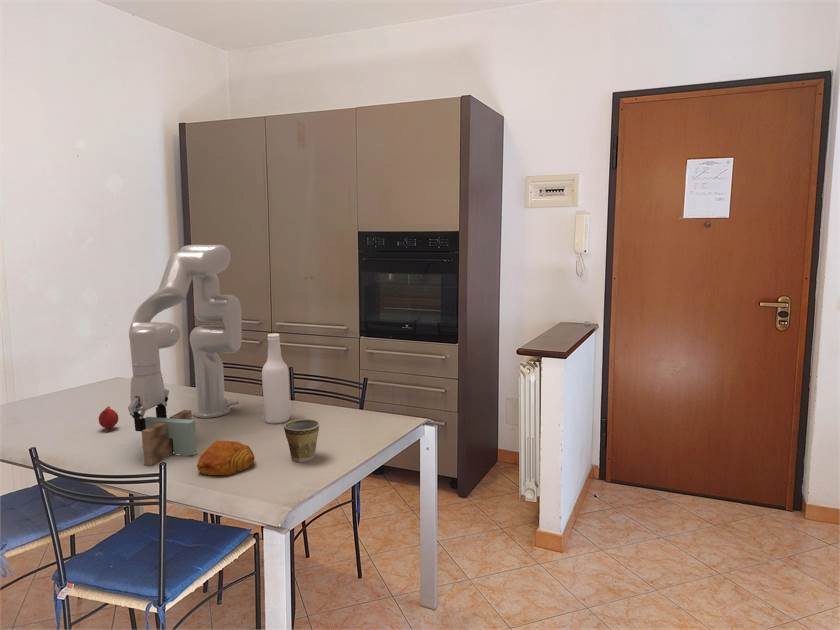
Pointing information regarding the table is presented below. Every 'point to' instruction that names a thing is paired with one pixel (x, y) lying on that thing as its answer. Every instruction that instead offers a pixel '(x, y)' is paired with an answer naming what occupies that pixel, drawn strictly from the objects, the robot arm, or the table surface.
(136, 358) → the robot arm
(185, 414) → the walnut slotted plate
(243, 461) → the croissant
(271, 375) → the alcohol
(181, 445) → the green slotted plate
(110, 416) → the onion
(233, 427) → the table surface
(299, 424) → the ceramic cup
